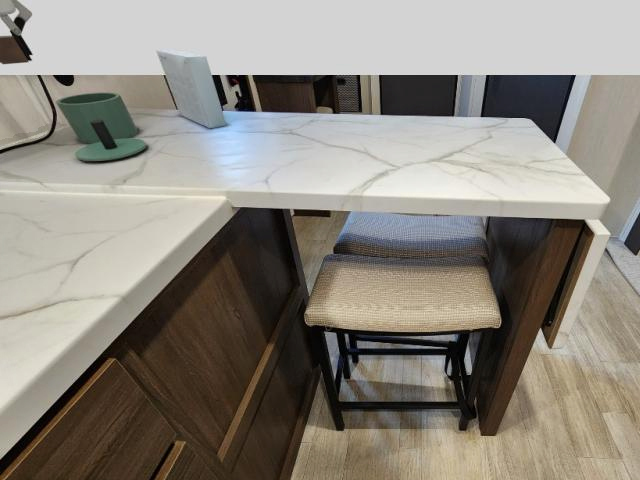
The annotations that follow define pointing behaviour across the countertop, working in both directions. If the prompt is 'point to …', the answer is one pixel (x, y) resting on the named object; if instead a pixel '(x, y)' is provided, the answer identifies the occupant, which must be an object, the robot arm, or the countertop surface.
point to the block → (10, 51)
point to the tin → (97, 115)
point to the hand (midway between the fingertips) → (13, 60)
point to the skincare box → (192, 87)
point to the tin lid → (108, 145)
